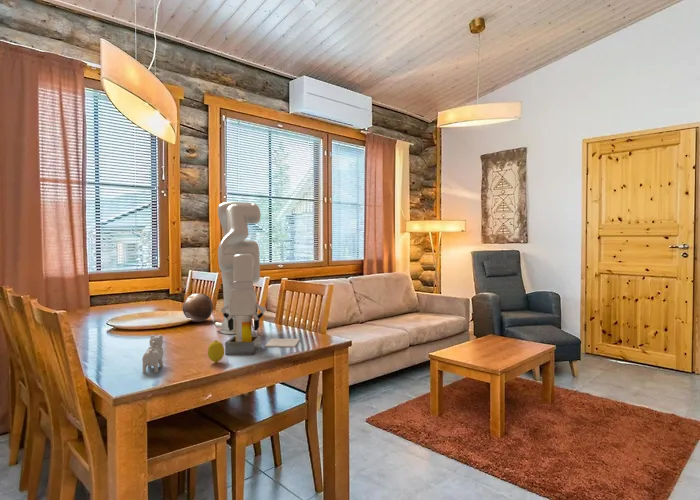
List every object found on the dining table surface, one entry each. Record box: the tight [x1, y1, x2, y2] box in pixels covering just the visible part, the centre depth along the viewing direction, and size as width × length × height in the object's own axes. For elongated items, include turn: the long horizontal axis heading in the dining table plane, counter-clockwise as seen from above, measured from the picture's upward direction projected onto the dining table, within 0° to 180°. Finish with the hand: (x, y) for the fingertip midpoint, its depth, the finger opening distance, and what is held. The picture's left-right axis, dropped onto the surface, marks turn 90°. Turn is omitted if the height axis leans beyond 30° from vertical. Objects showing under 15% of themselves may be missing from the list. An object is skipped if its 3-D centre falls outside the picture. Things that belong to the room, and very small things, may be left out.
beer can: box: [235, 316, 253, 342], centre depth 173 cm, size 6×6×15 cm
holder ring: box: [224, 335, 262, 356], centre depth 173 cm, size 11×11×4 cm
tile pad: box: [264, 338, 301, 348], centre depth 185 cm, size 12×12×1 cm
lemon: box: [207, 340, 225, 364], centre depth 156 cm, size 6×6×8 cm
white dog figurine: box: [141, 334, 164, 374], centre depth 150 cm, size 5×13×11 cm, turn 11°
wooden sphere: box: [182, 292, 214, 323], centre depth 232 cm, size 15×15×15 cm
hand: (243, 330), depth 173 cm, fingers open, 9 cm apart
